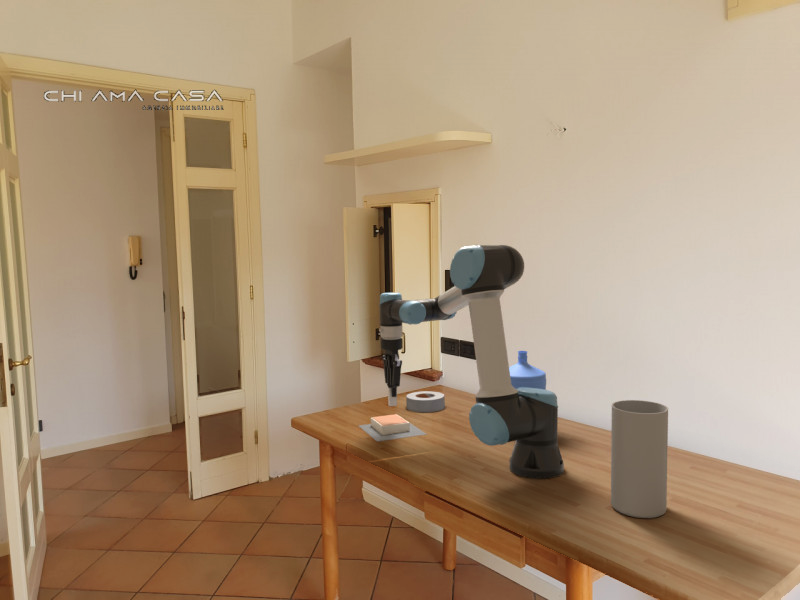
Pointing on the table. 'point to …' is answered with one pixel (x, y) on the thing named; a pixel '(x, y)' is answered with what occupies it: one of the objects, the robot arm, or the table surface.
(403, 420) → the wooden plaque
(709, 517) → the table surface
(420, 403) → the tape roll
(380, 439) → the rubber mat
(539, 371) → the water jug
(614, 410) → the cylinder vase
